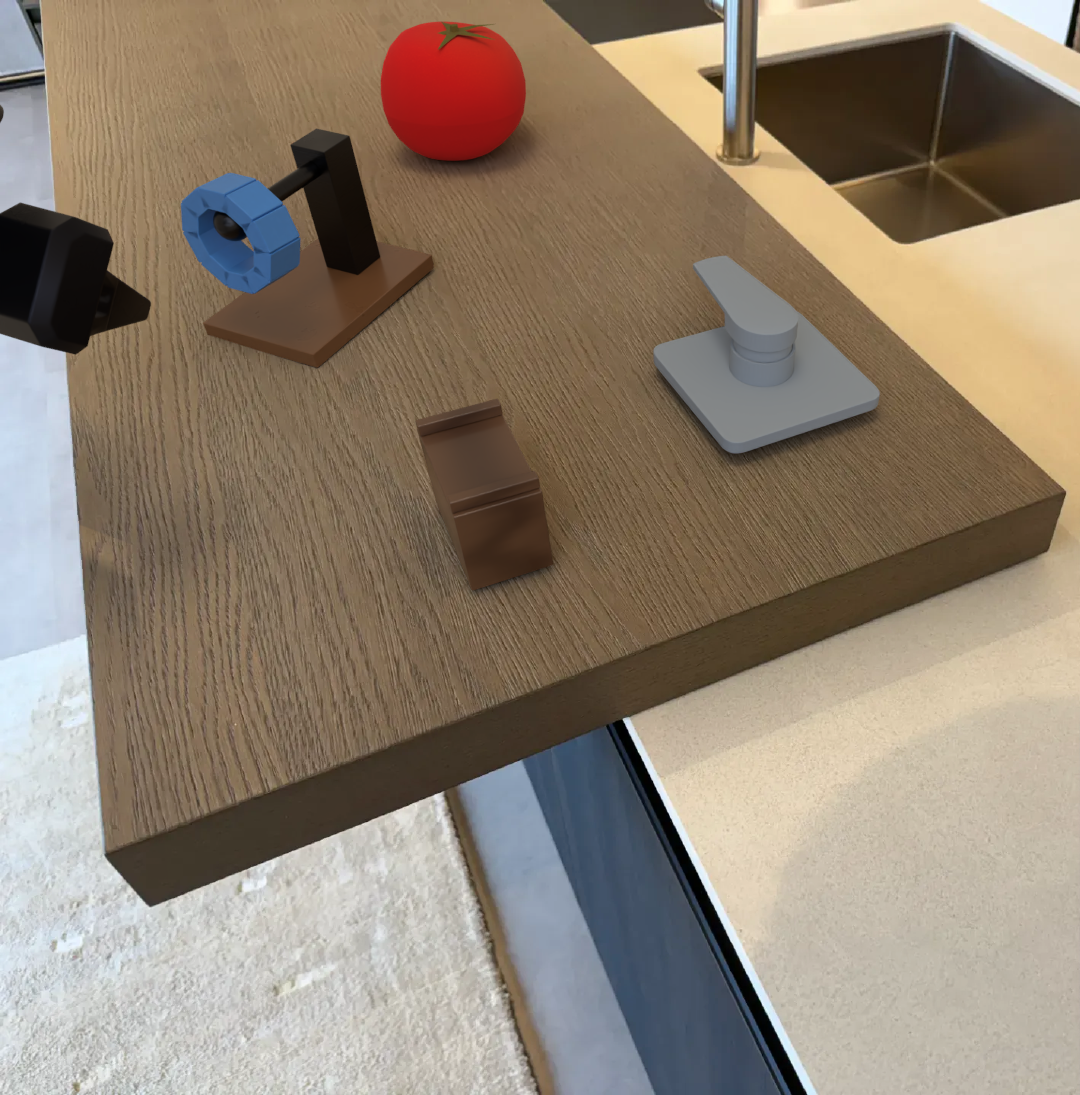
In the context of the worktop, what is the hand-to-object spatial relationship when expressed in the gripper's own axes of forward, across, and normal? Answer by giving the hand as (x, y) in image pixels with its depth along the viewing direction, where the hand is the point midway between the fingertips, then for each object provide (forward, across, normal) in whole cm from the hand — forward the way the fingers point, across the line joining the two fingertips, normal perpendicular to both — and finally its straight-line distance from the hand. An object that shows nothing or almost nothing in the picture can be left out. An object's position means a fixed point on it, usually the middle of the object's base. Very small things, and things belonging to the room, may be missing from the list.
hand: (84, 292), depth 59 cm
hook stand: (+23, +2, -5) cm, 23 cm away
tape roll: (+15, +2, -4) cm, 16 cm away
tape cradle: (+11, -23, +7) cm, 26 cm away
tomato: (+42, +7, -24) cm, 49 cm away
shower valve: (+26, -32, -8) cm, 42 cm away
